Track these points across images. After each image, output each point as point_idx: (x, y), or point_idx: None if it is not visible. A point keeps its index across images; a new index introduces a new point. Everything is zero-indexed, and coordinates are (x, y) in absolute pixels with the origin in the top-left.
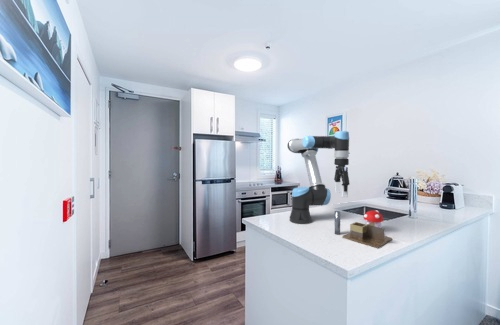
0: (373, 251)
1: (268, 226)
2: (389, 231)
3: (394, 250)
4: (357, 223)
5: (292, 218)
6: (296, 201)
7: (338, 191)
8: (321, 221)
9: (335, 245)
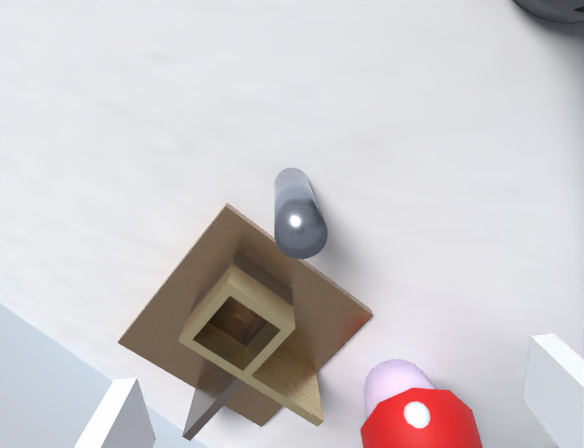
0: (74, 309)
1: None
2: None
3: None
4: (277, 330)
5: None
6: None
7: (542, 399)
8: (563, 109)
9: (81, 141)
